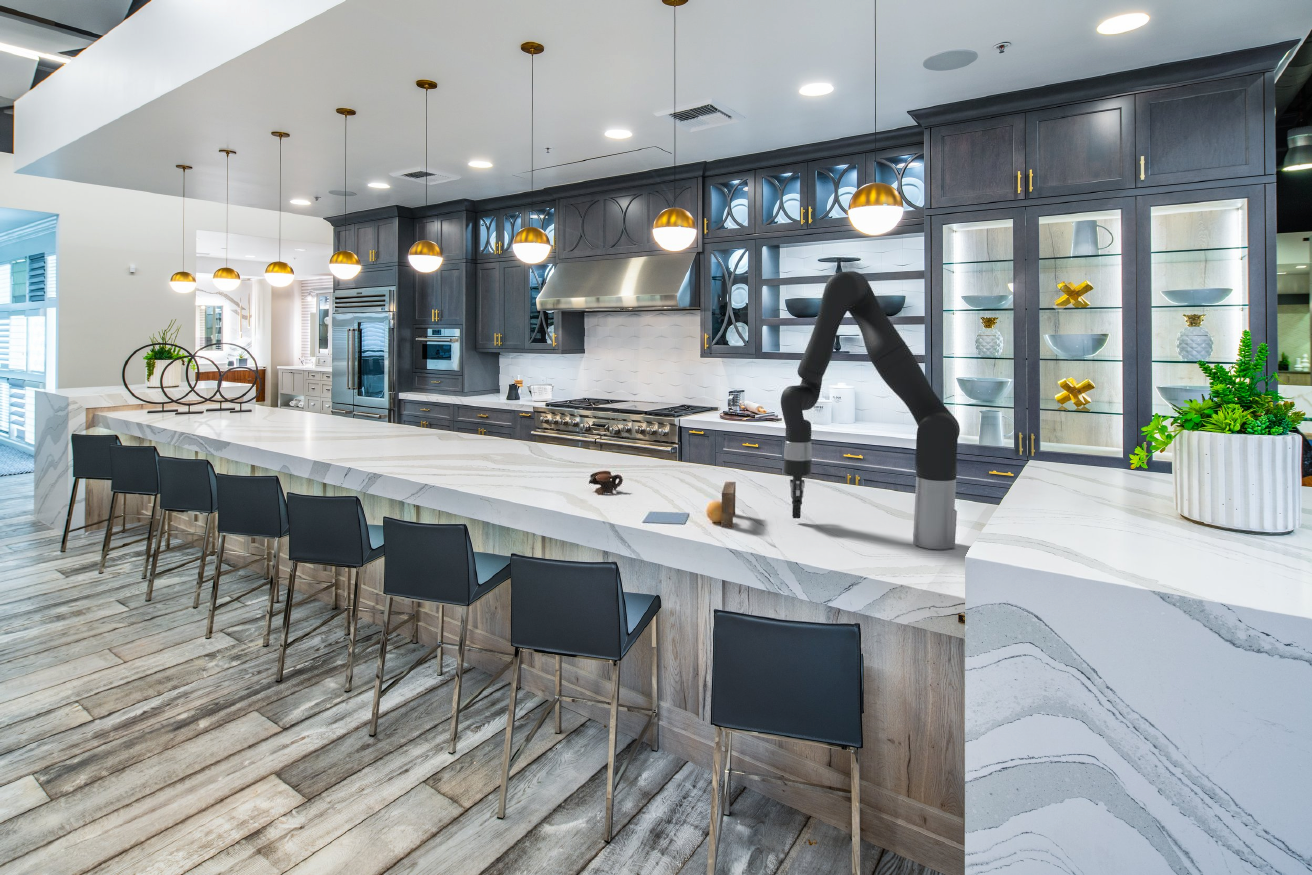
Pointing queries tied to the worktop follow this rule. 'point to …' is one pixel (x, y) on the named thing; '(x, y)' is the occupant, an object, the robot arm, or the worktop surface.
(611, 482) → the pottery mug
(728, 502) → the bridge
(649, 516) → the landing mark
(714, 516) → the ball
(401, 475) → the worktop surface
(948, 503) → the robot arm
